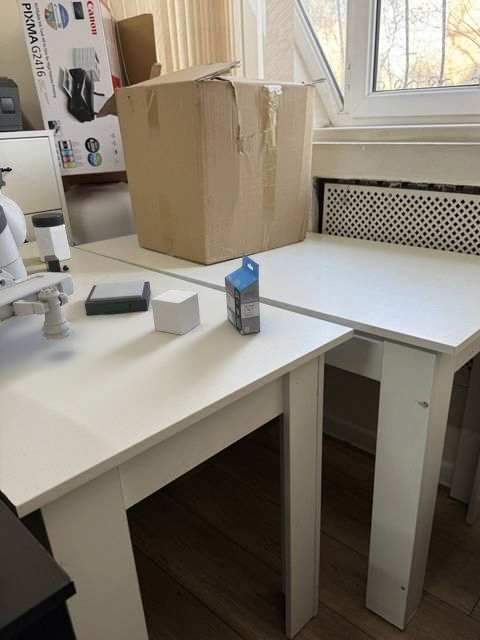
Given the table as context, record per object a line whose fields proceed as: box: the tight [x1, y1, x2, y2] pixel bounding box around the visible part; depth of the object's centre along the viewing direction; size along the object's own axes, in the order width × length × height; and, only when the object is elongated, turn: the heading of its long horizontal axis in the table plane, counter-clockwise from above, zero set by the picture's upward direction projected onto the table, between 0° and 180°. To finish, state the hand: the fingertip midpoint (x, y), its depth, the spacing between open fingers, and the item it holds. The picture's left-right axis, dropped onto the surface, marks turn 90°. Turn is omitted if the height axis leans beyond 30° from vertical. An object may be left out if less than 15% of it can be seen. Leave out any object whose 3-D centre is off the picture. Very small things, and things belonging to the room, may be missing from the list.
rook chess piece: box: [38, 286, 73, 341], centre depth 81 cm, size 4×4×8 cm
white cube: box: [150, 288, 201, 336], centre depth 93 cm, size 6×6×6 cm
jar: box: [31, 212, 72, 263], centre depth 140 cm, size 9×8×12 cm
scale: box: [84, 280, 152, 316], centre depth 106 cm, size 12×12×3 cm
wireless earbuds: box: [44, 255, 70, 273], centre depth 131 cm, size 5×7×3 cm, turn 31°
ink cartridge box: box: [224, 252, 261, 336], centre depth 91 cm, size 9×4×12 cm, turn 21°
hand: (55, 304), depth 80 cm, fingers closed on rook chess piece, 3 cm apart
